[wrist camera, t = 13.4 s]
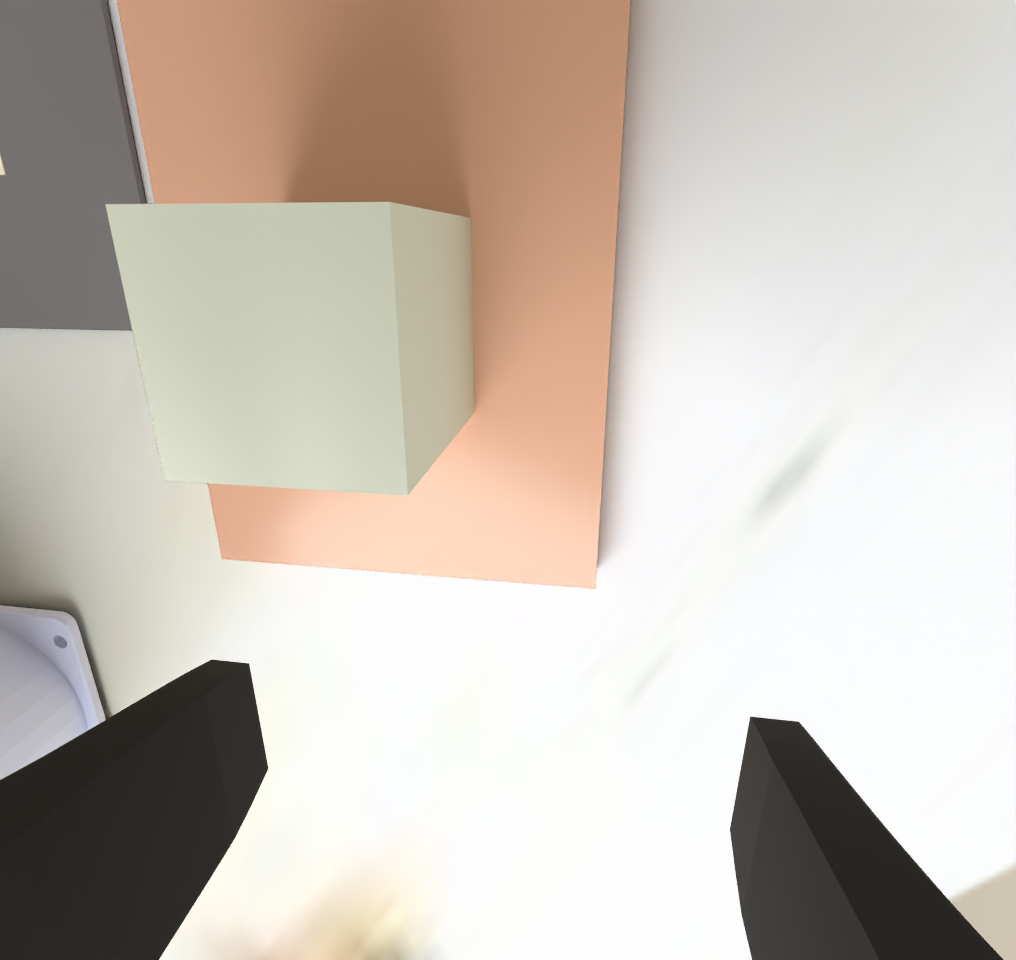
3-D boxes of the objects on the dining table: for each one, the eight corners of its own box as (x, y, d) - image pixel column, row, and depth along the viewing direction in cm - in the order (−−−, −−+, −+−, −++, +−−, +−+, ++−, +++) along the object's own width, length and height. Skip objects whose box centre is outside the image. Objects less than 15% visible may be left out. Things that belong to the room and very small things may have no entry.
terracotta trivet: (596, 570, 18) (595, 589, 17) (240, 543, 19) (222, 559, 18) (632, -33, 12) (633, -55, 12) (145, -2, 14) (112, -19, 13)
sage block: (474, 412, 15) (407, 496, 10) (305, 405, 16) (164, 480, 11) (471, 217, 14) (389, 201, 9) (283, 219, 14) (105, 203, 9)
